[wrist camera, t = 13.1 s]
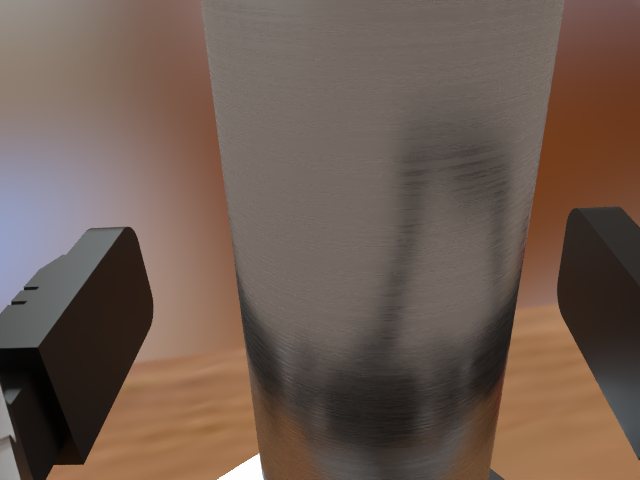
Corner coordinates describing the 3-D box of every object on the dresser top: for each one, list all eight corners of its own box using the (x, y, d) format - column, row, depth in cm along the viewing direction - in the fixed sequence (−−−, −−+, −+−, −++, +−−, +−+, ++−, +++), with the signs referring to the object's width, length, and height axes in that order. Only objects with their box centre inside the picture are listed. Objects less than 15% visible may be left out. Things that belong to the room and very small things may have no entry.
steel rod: (375, 576, 17) (385, -81, 9) (484, 702, 14) (656, -88, 6) (261, 673, 15) (130, -68, 7) (363, 843, 12) (360, -68, 4)
